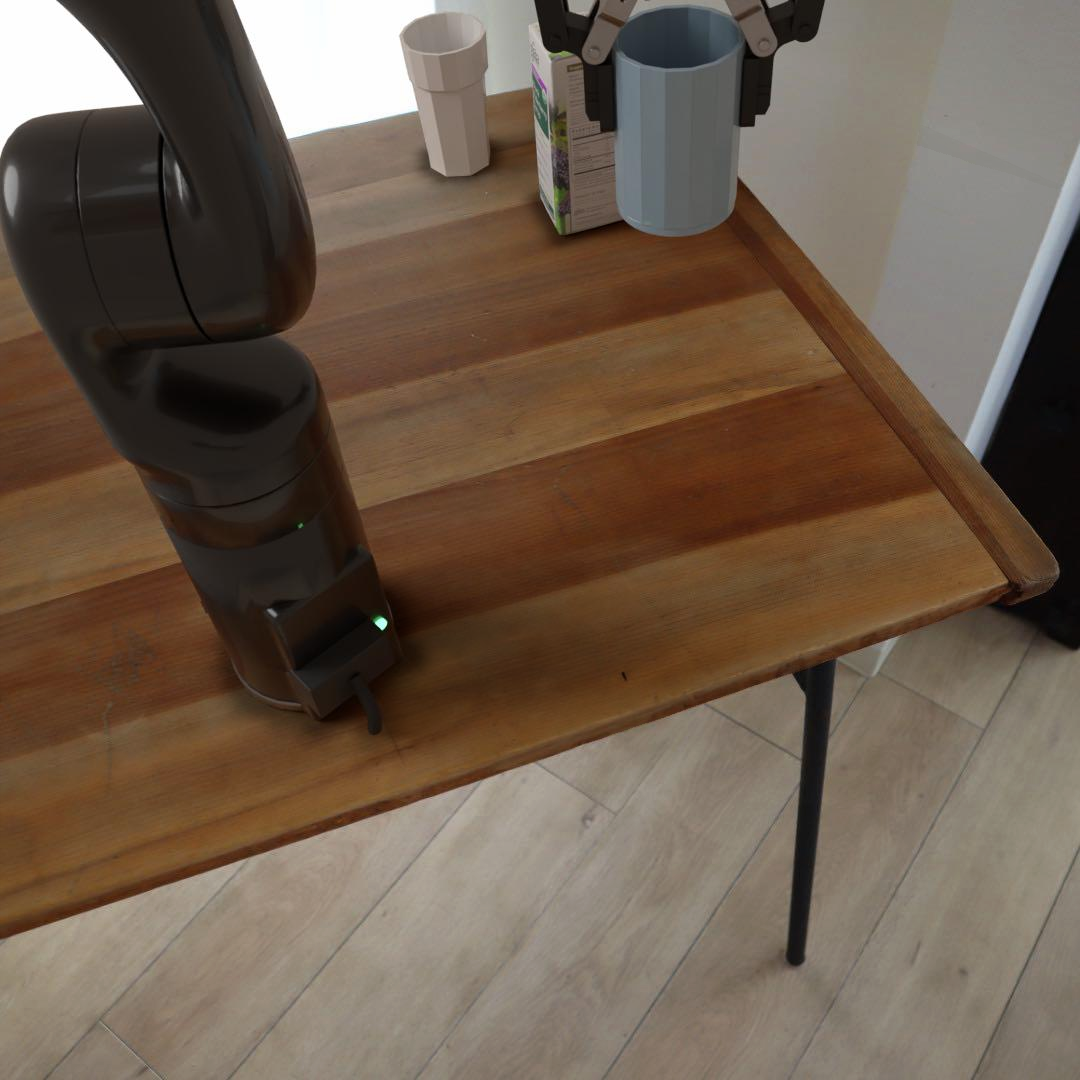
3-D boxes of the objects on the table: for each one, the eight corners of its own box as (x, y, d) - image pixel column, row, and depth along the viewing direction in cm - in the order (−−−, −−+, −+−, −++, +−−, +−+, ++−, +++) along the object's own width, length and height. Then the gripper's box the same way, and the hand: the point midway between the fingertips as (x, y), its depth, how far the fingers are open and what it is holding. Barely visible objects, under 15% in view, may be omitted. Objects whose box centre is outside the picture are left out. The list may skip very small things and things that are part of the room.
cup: (411, 149, 100) (389, 24, 92) (485, 129, 101) (469, 3, 93) (435, 190, 96) (413, 63, 88) (510, 169, 97) (497, 41, 89)
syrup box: (538, 198, 94) (522, 22, 83) (607, 180, 95) (601, 4, 84) (560, 238, 91) (546, 60, 80) (632, 219, 92) (629, 41, 80)
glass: (759, 198, 62) (772, 32, 55) (677, 252, 59) (680, 86, 52) (674, 154, 65) (676, -8, 58) (592, 204, 62) (584, 41, 55)
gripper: (490, -224, 44) (528, 170, 57) (885, -251, 43) (832, 158, 55) (504, -290, 49) (536, 88, 61) (860, -316, 47) (817, 75, 60)
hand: (677, 120), depth 58 cm, fingers closed on glass, 6 cm apart
